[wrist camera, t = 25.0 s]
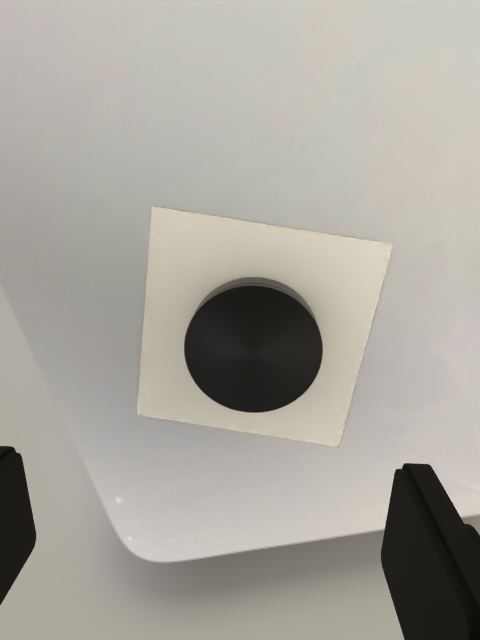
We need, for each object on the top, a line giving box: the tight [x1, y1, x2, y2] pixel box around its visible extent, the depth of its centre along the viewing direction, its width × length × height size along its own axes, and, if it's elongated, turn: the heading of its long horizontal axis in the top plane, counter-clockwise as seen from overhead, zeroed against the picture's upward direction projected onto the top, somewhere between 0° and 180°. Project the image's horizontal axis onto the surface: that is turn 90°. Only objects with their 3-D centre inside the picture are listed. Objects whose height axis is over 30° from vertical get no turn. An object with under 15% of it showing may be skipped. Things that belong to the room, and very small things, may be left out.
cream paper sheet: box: [136, 206, 394, 447], centre depth 22 cm, size 12×12×2 cm
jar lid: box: [184, 277, 323, 413], centre depth 22 cm, size 7×7×2 cm
